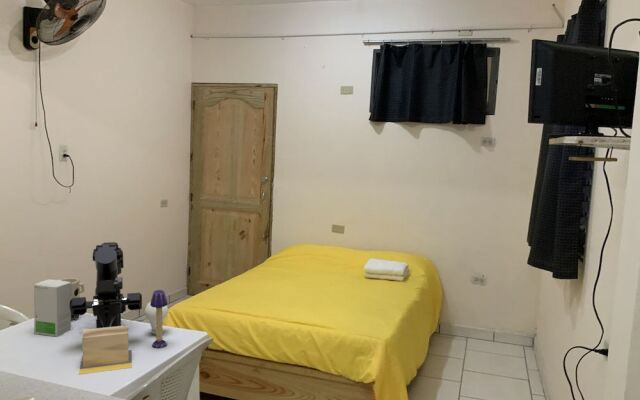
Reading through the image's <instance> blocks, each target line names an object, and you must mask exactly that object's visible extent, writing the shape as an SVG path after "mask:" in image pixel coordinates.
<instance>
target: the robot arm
mask: <svg viewBox="0 0 640 400" xmlns="http://www.w3.org/2000/svg"><path fill="white" fill-rule="evenodd" d="M92 262H94V263H95V269H96V282H95V283H96V286H95V289H94V290H95V293H94V295H93V297H92V300H89V301H87V297H86V296H79V297H78V298H72V299H71V300H70V306H69V307H70V311H71V315H73V316H75V315H79V316H83V315H85V314H86V313H87V312H88V310H87V309H92V316H93V317H96V319H95V329H96V328H106V327H116V326H122V314H124V313H125V312H127V309H128V310H130V311H140V310H142V308H143V294H142V293H141V292H129V293H127V294H126V295H127V296H126V297H125V296H124V294H123V293H121V292H122V291H121V290H123V286H124V285H123V277H122V276H120V277H119V276H118V275H120V274H122V269H124V251H123V249H122V248H121V247H119V244H118V242H114V241H112V242H103V243H101V244H96V245H95V248H93V250H92ZM126 306H127V307H126Z"/></svg>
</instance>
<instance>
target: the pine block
mask: <svg viewBox="0 0 640 400" xmlns="http://www.w3.org/2000/svg"><path fill="white" fill-rule="evenodd" d="M81 341H82V343H81V345H82V356H83V368H85V367H93V366H101V365H109V364H117V363H125V362H129V350H130V349H129V325H128V324H127V325H121V326H116V327H106V328H96V327H95V328H87V329H84V330H83V334H82V337H81Z"/></svg>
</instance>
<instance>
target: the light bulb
mask: <svg viewBox="0 0 640 400" xmlns="http://www.w3.org/2000/svg"><path fill="white" fill-rule="evenodd" d="M150 303H151V301H149V302H148V303H147V304H146V306H145V307H144V308H145V309H144V314H145V317H146V318H147V320H148V321H149V323H150V327H151V334H152V335H154V336H157V335H156V332H157V330H156V327H157V325H156V322H157V320H156V316H157V315H156V311H157V310H156V307H152V306H151V305H150ZM162 312H163V313H162V317H163V318H162V321H163V322H164V321H165V319H166V317H167V316H168V312H169V308H168V304H167V305H166V306H165V307H162ZM163 325H164V323H163V324H162V326H163Z"/></svg>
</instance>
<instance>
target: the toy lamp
mask: <svg viewBox="0 0 640 400" xmlns="http://www.w3.org/2000/svg"><path fill="white" fill-rule="evenodd" d="M150 302H151V303H150V305H151V306H152V307H156V310H157V311H156V315H157V316H156V320H157V322H156V325H157V327H156V330H157V332H156V335H155V339H156V340H154V341H153V343H152V344H151V347H152V348H153V349H156V350H157V349H164V348H166V347H167V346H168V343H167V341H166V340H164V339H163V325H164V323H163V322H164V321H162V318H163V317H162V313H163V312H162V307H165V306H166V305H167V306H168V300H167V296H166V293H165V291H164V290H162V289H157V290H154V291H153V293H152V296H151V299H150ZM162 324H163V325H162Z"/></svg>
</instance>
